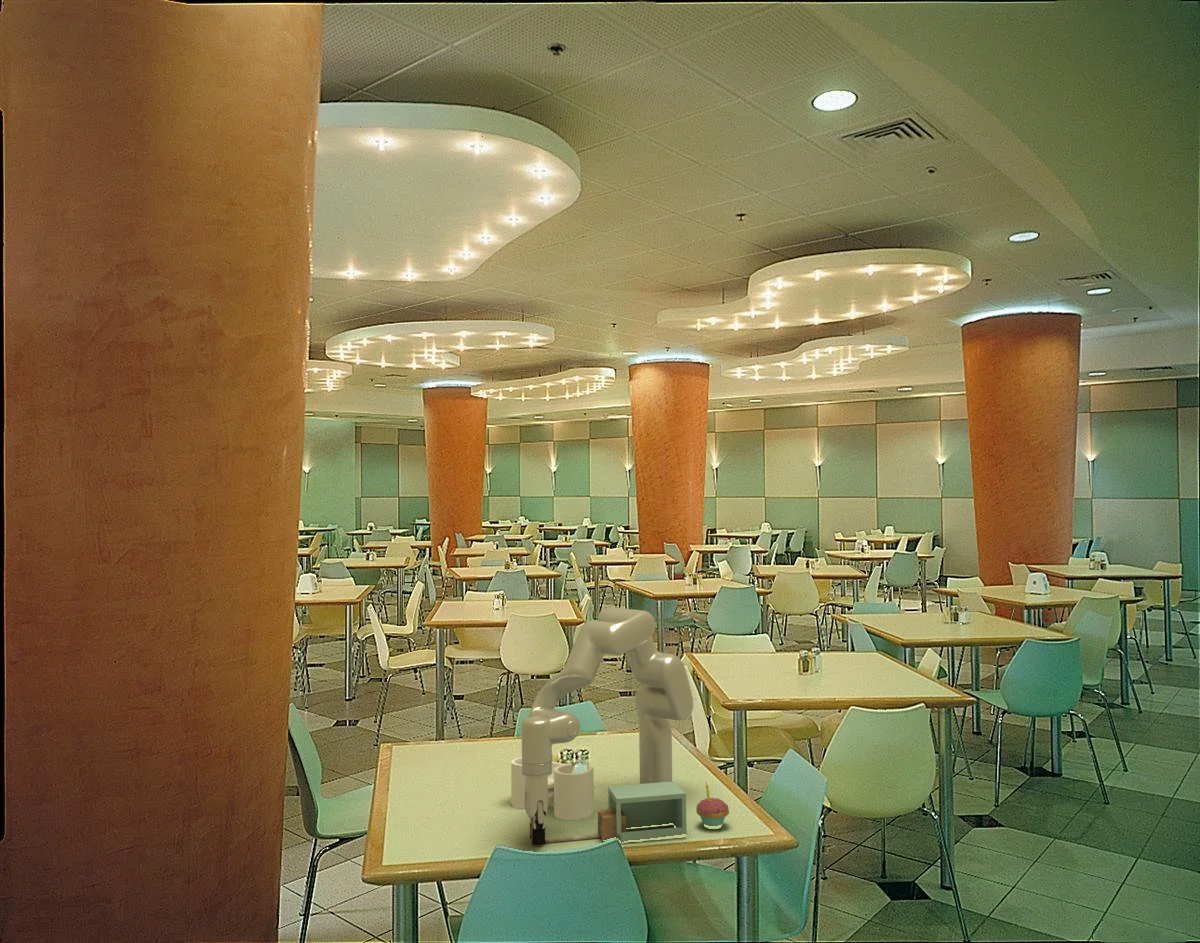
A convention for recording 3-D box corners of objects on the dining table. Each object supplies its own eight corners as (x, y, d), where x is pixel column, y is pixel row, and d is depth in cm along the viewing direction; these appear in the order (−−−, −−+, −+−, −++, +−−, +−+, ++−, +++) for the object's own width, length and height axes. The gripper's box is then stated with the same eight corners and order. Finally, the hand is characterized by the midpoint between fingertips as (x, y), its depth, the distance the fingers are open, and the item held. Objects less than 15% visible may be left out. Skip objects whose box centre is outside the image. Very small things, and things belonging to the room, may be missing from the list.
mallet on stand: (529, 839, 228) (529, 811, 228) (620, 831, 233) (620, 804, 233) (533, 848, 222) (532, 820, 222) (626, 839, 227) (625, 811, 227)
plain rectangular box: (608, 830, 234) (608, 786, 234) (675, 824, 238) (674, 781, 238) (617, 844, 224) (616, 799, 224) (686, 838, 228) (685, 793, 228)
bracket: (503, 807, 253) (503, 763, 253) (524, 797, 261) (523, 754, 261) (578, 822, 240) (578, 777, 240) (597, 811, 248) (597, 767, 248)
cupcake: (711, 835, 230) (711, 787, 230) (689, 825, 236) (688, 779, 237) (736, 827, 235) (735, 781, 235) (713, 818, 241) (712, 773, 242)
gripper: (518, 759, 233) (518, 831, 232) (526, 778, 217) (527, 855, 216) (546, 757, 234) (547, 828, 234) (557, 776, 218) (557, 852, 218)
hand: (537, 840), depth 225 cm, fingers closed on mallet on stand, 3 cm apart
